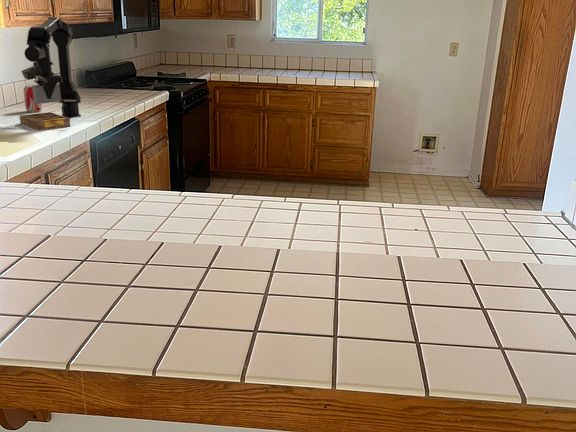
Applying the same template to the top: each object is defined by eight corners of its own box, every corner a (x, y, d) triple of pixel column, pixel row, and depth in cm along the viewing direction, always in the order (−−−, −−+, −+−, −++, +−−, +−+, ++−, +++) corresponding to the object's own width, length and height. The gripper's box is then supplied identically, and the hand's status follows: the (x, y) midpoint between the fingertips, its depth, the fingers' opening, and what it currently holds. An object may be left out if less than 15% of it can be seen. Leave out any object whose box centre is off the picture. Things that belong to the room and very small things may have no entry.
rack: (51, 120, 252) (50, 111, 250) (70, 126, 240) (69, 117, 238) (20, 123, 243) (19, 115, 241) (38, 130, 231) (37, 121, 229)
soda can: (36, 112, 267) (33, 87, 263) (23, 112, 268) (19, 86, 264) (45, 110, 273) (42, 85, 269) (32, 109, 275) (28, 84, 270)
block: (57, 100, 238) (56, 83, 236) (61, 101, 236) (59, 84, 234) (34, 102, 231) (32, 85, 229) (37, 103, 230) (35, 86, 227)
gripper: (13, 58, 229) (18, 97, 234) (32, 62, 216) (37, 103, 222) (40, 57, 236) (45, 95, 242) (60, 61, 224) (65, 100, 229)
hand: (47, 98), depth 233 cm, fingers closed on block, 3 cm apart
